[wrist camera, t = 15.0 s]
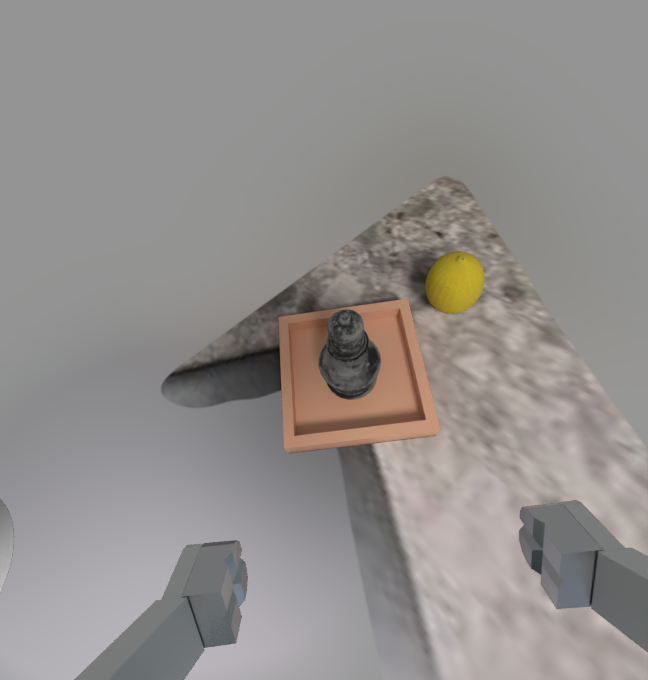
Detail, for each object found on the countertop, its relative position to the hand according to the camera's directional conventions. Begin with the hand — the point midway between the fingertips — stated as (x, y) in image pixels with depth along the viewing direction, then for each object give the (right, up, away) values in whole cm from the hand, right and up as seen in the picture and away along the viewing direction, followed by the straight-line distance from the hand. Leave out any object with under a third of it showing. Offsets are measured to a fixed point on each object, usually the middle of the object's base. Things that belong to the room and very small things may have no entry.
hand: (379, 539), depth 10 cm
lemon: (+12, +10, +30) cm, 34 cm away
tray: (+1, +2, +27) cm, 27 cm away
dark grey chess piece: (+1, +2, +26) cm, 26 cm away
